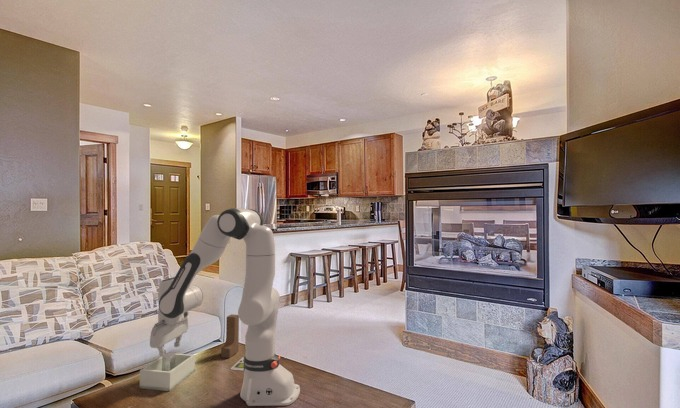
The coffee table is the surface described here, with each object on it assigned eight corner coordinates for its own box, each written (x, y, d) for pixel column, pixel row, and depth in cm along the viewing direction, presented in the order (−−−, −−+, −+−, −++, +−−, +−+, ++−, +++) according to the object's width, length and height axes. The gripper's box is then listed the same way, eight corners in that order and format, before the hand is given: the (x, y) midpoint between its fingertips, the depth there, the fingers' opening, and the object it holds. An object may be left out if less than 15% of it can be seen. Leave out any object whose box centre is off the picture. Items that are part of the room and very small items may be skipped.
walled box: (194, 371, 151) (195, 354, 151) (169, 391, 135) (170, 372, 135) (167, 369, 153) (167, 352, 154) (139, 388, 137) (139, 370, 137)
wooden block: (229, 358, 165) (229, 320, 165) (220, 357, 166) (221, 319, 166) (238, 351, 173) (239, 314, 174) (230, 350, 174) (231, 314, 175)
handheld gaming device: (261, 356, 167) (248, 370, 152) (261, 357, 167) (248, 372, 152) (244, 355, 168) (229, 368, 153) (244, 356, 168) (229, 370, 153)
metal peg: (175, 375, 145) (175, 353, 146) (169, 379, 142) (170, 356, 142) (167, 374, 146) (167, 352, 146) (161, 378, 142) (162, 356, 143)
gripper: (160, 325, 134) (160, 361, 133) (191, 310, 154) (191, 342, 154) (145, 324, 135) (145, 360, 134) (178, 310, 155) (178, 341, 155)
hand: (170, 350), depth 144 cm, fingers open, 8 cm apart
